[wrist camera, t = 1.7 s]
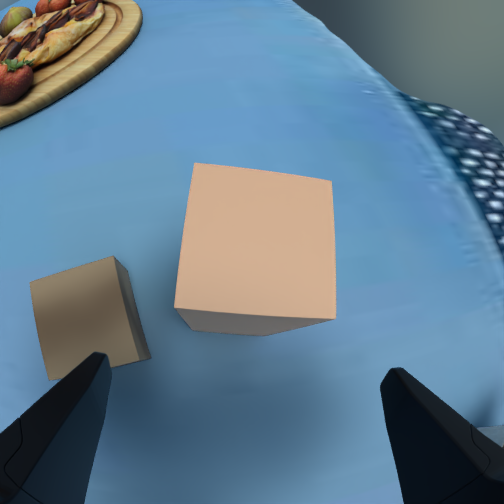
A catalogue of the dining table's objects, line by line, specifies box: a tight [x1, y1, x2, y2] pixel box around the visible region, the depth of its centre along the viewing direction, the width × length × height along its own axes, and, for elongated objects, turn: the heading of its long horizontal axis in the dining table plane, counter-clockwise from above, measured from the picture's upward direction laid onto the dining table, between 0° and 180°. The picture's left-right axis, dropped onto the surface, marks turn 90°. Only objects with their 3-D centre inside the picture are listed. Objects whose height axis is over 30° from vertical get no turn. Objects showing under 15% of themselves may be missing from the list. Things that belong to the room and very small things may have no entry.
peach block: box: [174, 163, 336, 336], centre depth 16 cm, size 5×5×12 cm
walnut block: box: [30, 256, 151, 380], centre depth 18 cm, size 6×6×4 cm
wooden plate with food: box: [0, 0, 143, 127], centre depth 24 cm, size 32×32×8 cm
